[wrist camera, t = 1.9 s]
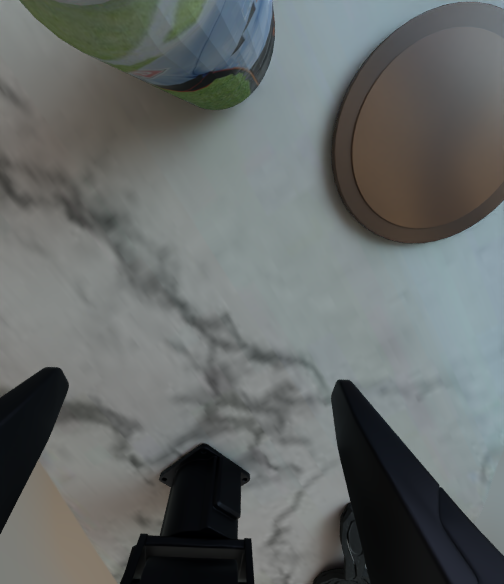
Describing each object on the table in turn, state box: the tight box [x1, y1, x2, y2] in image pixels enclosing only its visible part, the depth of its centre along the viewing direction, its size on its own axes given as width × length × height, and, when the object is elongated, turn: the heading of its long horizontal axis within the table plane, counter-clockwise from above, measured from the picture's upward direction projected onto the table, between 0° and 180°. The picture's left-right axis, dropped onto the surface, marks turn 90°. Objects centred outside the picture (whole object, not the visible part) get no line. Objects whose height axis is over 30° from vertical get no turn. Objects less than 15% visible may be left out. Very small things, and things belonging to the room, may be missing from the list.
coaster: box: [332, 2, 504, 243], centre depth 16 cm, size 12×12×1 cm
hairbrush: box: [313, 503, 370, 584], centre depth 33 cm, size 8×4×25 cm
